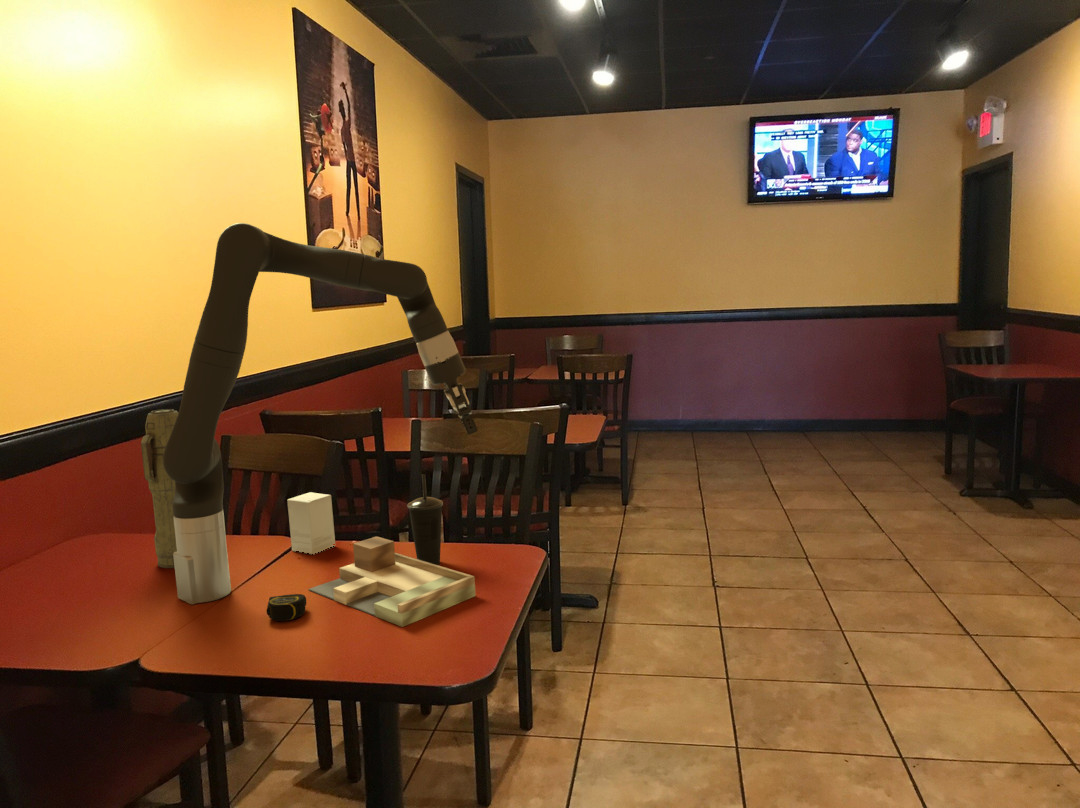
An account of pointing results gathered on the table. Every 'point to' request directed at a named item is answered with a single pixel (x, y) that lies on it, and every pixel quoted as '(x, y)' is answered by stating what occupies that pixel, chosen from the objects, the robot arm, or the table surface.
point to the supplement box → (311, 522)
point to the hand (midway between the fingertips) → (470, 429)
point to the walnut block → (374, 554)
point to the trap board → (400, 589)
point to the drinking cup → (426, 526)
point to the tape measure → (286, 607)
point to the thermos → (160, 482)
